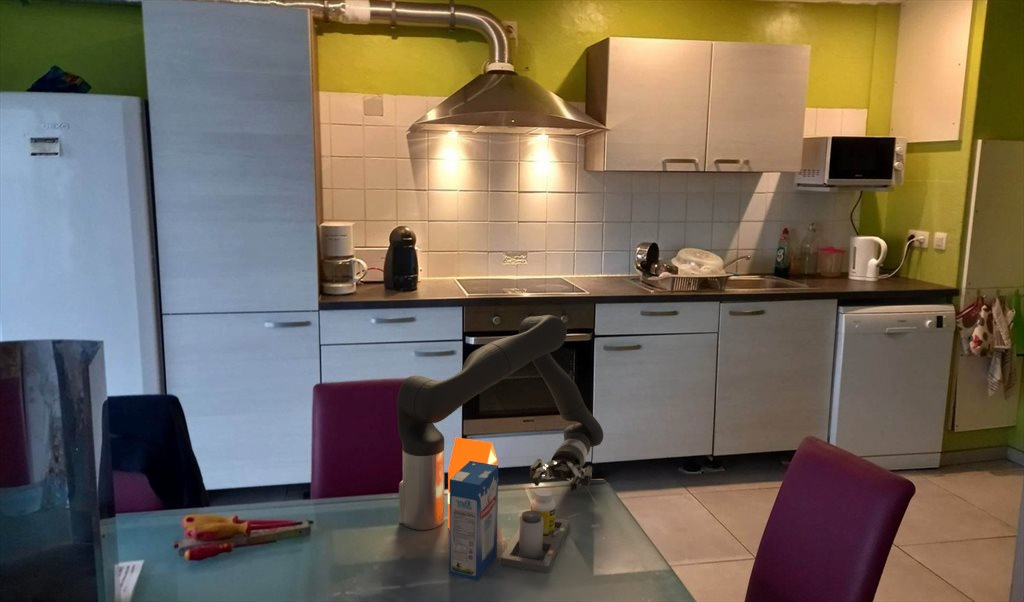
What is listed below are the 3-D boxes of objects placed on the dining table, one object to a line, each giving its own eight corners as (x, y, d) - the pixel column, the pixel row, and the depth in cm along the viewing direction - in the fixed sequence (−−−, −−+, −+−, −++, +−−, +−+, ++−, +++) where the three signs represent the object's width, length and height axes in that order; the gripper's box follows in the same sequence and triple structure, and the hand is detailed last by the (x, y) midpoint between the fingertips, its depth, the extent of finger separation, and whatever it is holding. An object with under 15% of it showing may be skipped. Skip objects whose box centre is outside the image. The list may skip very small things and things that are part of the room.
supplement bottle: (552, 541, 161) (553, 498, 159) (527, 537, 162) (528, 495, 160) (556, 529, 166) (557, 487, 164) (532, 526, 167) (533, 485, 165)
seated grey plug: (516, 560, 153) (517, 518, 151) (522, 548, 158) (523, 508, 156) (538, 564, 152) (540, 522, 150) (544, 552, 156) (545, 511, 154)
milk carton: (478, 581, 145) (479, 484, 141) (448, 574, 147) (449, 479, 143) (496, 556, 154) (498, 465, 151) (469, 550, 156) (470, 460, 153)
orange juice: (484, 536, 163) (486, 449, 159) (447, 528, 165) (447, 443, 162) (496, 520, 170) (498, 436, 166) (460, 513, 173) (461, 431, 169)
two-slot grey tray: (500, 564, 151) (500, 556, 151) (526, 520, 170) (527, 512, 170) (548, 573, 148) (548, 564, 148) (569, 527, 167) (570, 519, 167)
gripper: (542, 440, 188) (524, 465, 172) (598, 447, 184) (585, 473, 168) (541, 468, 189) (523, 495, 174) (597, 476, 185) (584, 504, 170)
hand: (554, 484), depth 171 cm, fingers open, 8 cm apart
